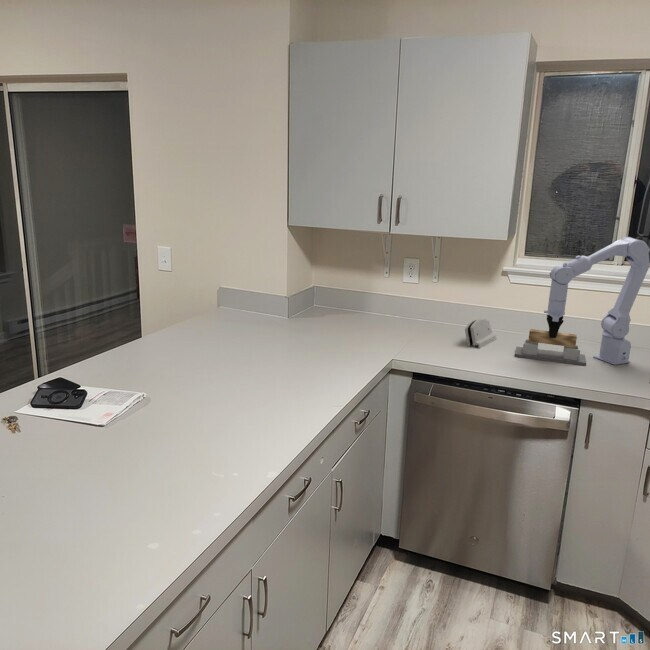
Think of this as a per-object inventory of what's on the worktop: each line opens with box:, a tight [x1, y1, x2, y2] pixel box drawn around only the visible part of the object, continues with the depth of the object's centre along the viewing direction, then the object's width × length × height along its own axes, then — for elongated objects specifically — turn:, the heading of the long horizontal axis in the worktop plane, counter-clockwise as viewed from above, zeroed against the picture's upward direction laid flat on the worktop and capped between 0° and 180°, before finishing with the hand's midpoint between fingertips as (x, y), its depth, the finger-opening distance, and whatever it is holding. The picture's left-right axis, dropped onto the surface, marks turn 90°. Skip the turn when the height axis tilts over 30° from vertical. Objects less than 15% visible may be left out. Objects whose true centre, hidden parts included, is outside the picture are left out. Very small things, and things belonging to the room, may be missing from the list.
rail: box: [528, 328, 578, 347], centre depth 213 cm, size 16×3×4 cm, turn 70°
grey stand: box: [464, 318, 498, 349], centre depth 230 cm, size 17×5×10 cm, turn 142°
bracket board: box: [514, 338, 587, 367], centre depth 214 cm, size 24×10×5 cm, turn 70°
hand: (552, 336), depth 213 cm, fingers closed on rail, 3 cm apart
